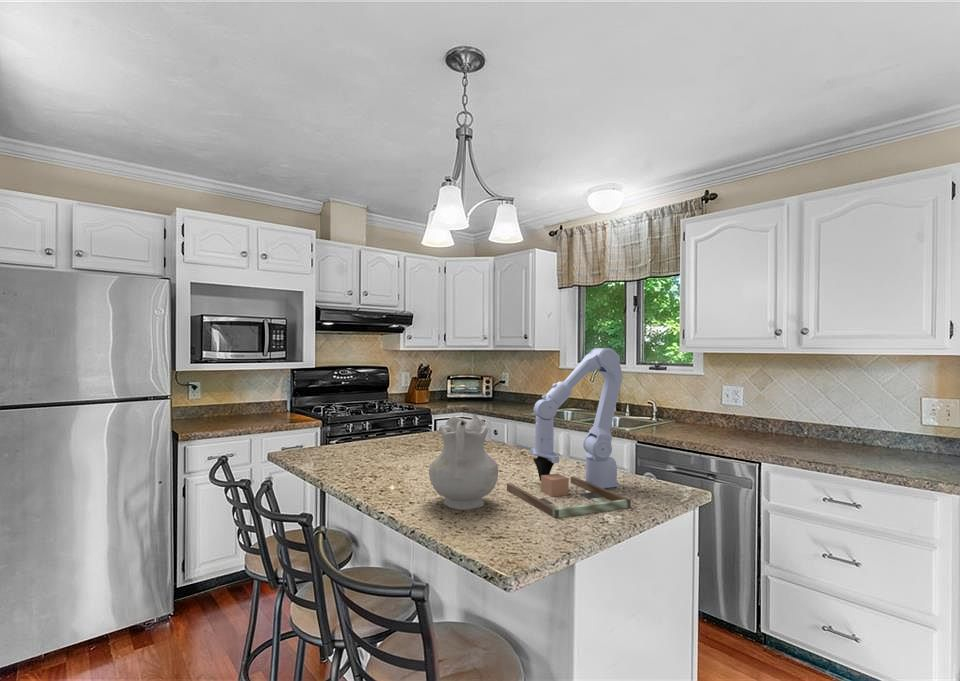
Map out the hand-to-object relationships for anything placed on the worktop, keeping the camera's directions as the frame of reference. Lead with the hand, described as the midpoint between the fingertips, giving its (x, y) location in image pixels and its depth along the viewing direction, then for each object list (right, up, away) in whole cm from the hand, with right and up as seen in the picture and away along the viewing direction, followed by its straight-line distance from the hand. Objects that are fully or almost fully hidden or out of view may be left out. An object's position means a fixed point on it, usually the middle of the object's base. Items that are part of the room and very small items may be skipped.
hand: (543, 481), depth 164 cm
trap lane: (+5, -2, -11) cm, 13 cm away
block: (+3, -2, -6) cm, 7 cm away
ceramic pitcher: (-25, -2, -19) cm, 31 cm away
